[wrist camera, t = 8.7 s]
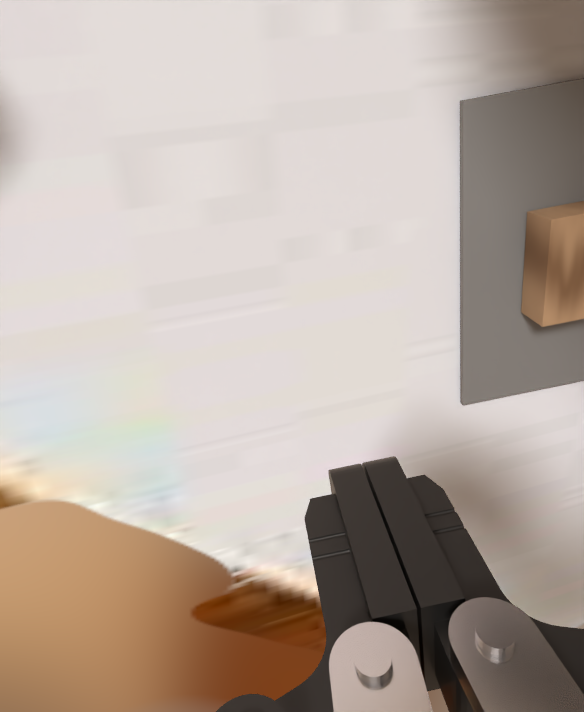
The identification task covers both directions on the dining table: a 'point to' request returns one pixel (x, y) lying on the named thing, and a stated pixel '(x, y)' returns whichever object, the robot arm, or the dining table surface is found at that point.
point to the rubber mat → (514, 236)
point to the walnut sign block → (554, 265)
